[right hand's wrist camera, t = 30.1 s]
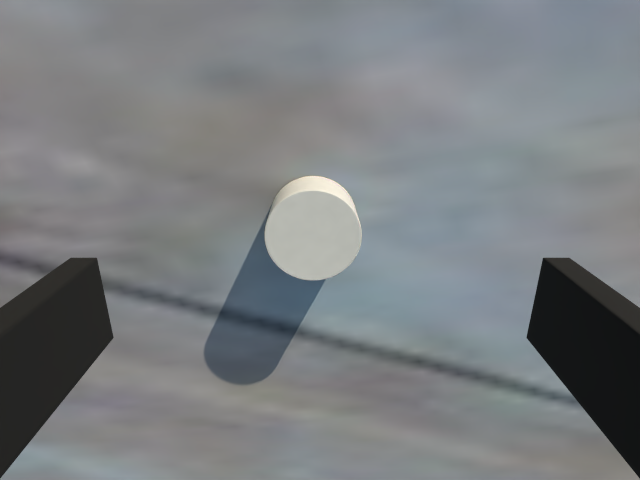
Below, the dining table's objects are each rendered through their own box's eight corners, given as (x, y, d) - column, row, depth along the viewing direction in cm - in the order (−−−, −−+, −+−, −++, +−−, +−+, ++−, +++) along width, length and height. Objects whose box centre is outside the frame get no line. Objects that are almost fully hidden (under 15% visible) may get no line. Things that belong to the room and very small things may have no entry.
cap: (253, 226, 18) (245, 247, 16) (302, 157, 17) (301, 170, 15) (322, 271, 19) (323, 297, 17) (373, 208, 18) (381, 227, 16)
